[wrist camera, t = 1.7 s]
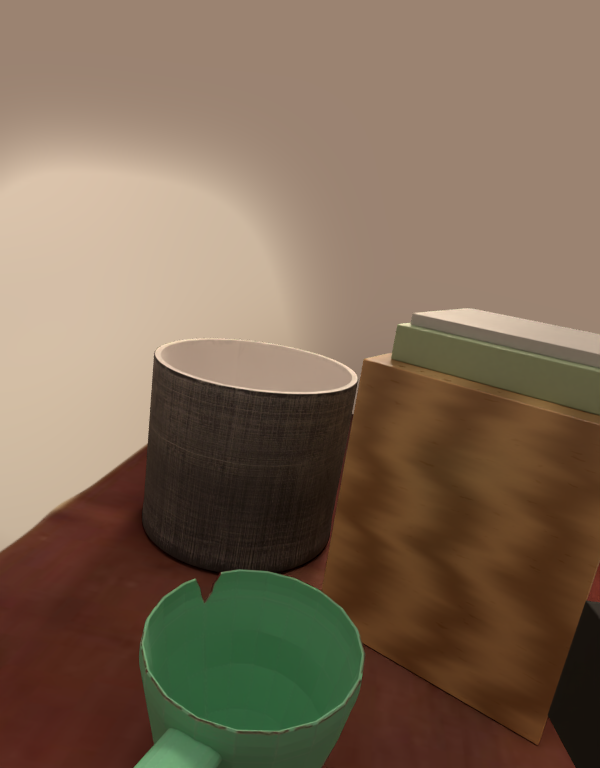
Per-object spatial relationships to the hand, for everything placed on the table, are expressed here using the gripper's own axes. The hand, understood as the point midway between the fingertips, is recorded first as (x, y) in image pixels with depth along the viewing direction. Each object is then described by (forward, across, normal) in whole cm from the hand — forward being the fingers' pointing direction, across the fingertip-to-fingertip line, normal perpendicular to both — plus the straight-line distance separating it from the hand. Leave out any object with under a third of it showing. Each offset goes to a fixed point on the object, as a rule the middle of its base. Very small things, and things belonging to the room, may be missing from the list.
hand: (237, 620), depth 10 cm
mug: (+9, 0, -20) cm, 22 cm away
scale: (+29, +18, 0) cm, 34 cm away
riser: (+29, +18, -20) cm, 39 cm away
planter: (+39, -1, -20) cm, 44 cm away
